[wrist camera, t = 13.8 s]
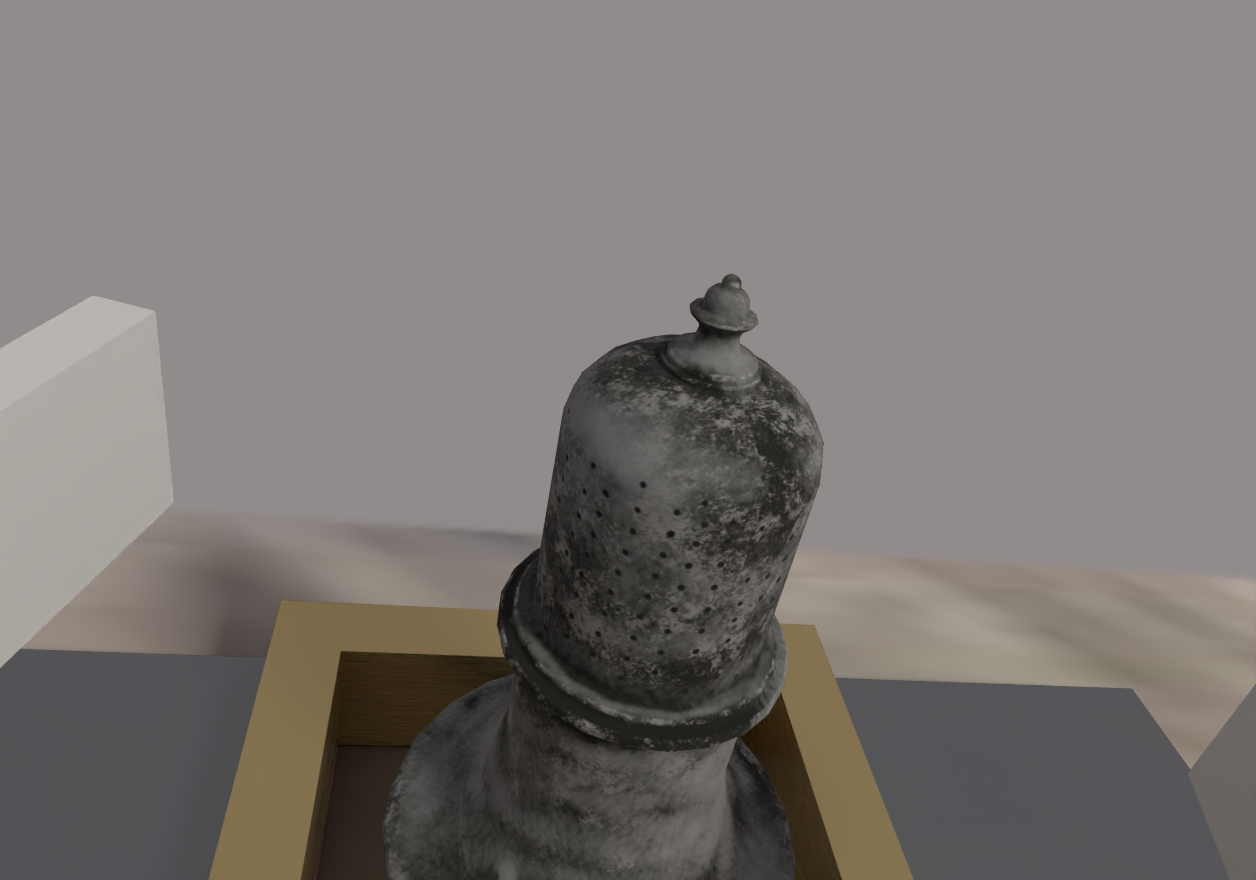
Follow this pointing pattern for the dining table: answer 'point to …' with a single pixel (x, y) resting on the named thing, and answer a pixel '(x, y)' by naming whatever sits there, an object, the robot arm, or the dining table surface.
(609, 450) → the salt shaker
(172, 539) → the dining table surface
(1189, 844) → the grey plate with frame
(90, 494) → the robot arm
